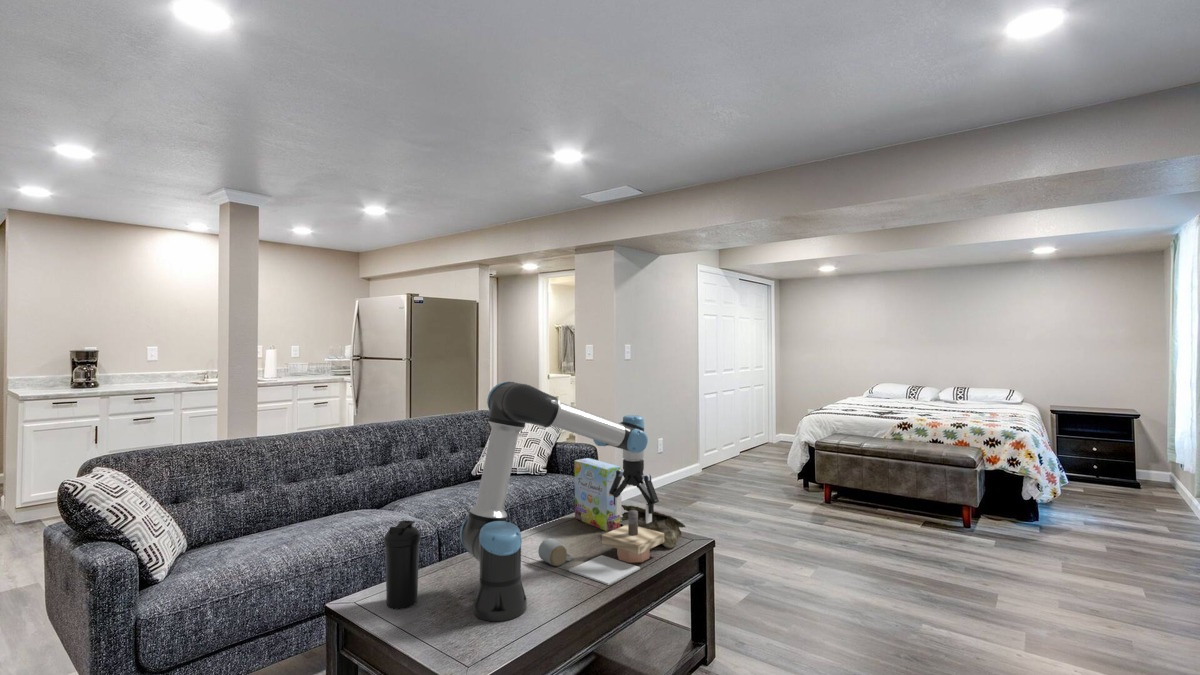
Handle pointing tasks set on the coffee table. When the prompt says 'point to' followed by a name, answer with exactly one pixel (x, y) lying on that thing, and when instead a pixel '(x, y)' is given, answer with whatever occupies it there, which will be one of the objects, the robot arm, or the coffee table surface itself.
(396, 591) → the water bottle
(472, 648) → the coffee table surface
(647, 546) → the lid
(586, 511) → the snack box
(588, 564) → the mat
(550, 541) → the ceramic mug
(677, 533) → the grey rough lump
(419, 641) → the coffee table surface
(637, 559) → the bowl
